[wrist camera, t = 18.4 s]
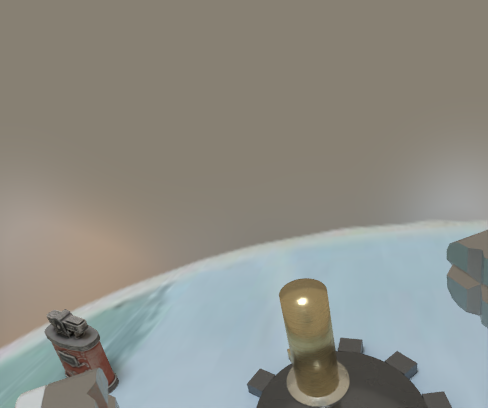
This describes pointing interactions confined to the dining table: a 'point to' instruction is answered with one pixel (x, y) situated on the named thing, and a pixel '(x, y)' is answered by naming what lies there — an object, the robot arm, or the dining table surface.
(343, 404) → the sprocket plate
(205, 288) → the dining table surface
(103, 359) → the lighter
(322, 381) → the pin
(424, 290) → the dining table surface
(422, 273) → the dining table surface
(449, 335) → the dining table surface
